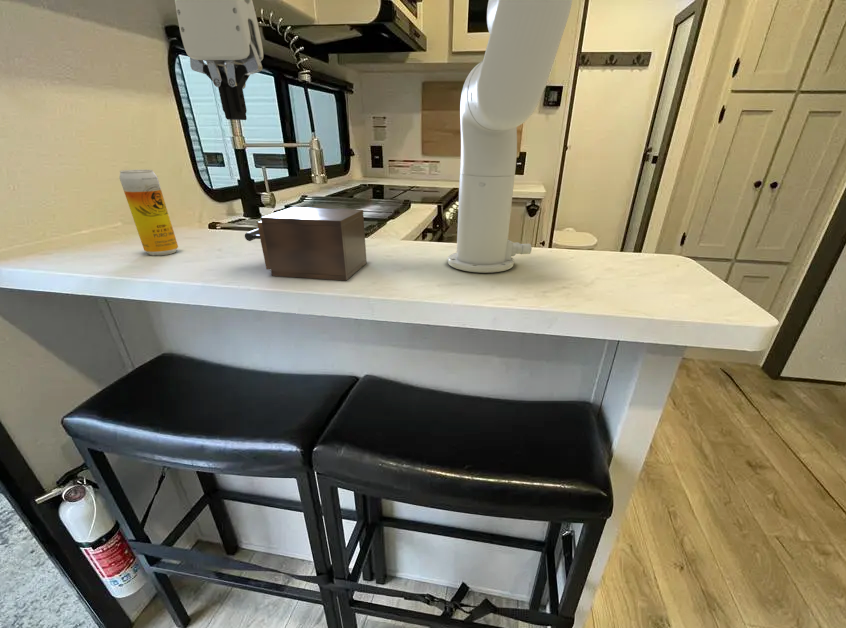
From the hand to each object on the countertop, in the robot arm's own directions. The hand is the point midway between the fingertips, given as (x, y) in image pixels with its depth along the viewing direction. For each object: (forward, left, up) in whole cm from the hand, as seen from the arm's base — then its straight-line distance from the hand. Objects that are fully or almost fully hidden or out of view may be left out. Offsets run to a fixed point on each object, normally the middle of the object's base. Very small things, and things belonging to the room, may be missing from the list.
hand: (236, 119), depth 64 cm
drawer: (-6, +1, -22) cm, 23 cm away
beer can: (+22, -16, -23) cm, 36 cm away
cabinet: (-10, +2, -23) cm, 25 cm away
